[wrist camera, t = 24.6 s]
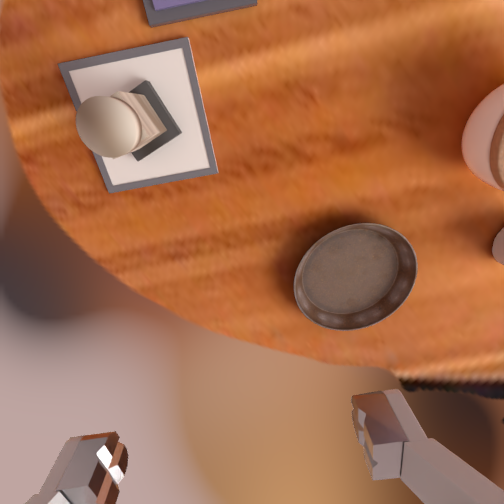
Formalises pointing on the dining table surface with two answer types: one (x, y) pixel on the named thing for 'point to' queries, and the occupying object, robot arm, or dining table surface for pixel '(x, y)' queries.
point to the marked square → (172, 95)
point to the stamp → (126, 123)
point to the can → (499, 247)
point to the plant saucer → (355, 276)
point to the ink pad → (189, 9)
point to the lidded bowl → (486, 139)
